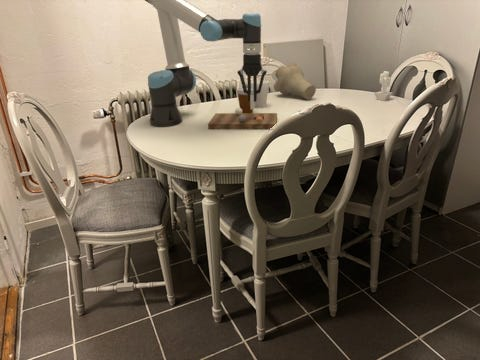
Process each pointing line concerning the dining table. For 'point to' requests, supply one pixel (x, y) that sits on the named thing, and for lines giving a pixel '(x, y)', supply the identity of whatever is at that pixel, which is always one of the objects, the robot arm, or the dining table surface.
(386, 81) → the figurine
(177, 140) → the dining table surface
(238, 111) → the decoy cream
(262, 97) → the foam cup
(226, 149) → the dining table surface
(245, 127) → the board
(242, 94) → the disposable coffee cup
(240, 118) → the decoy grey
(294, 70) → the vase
